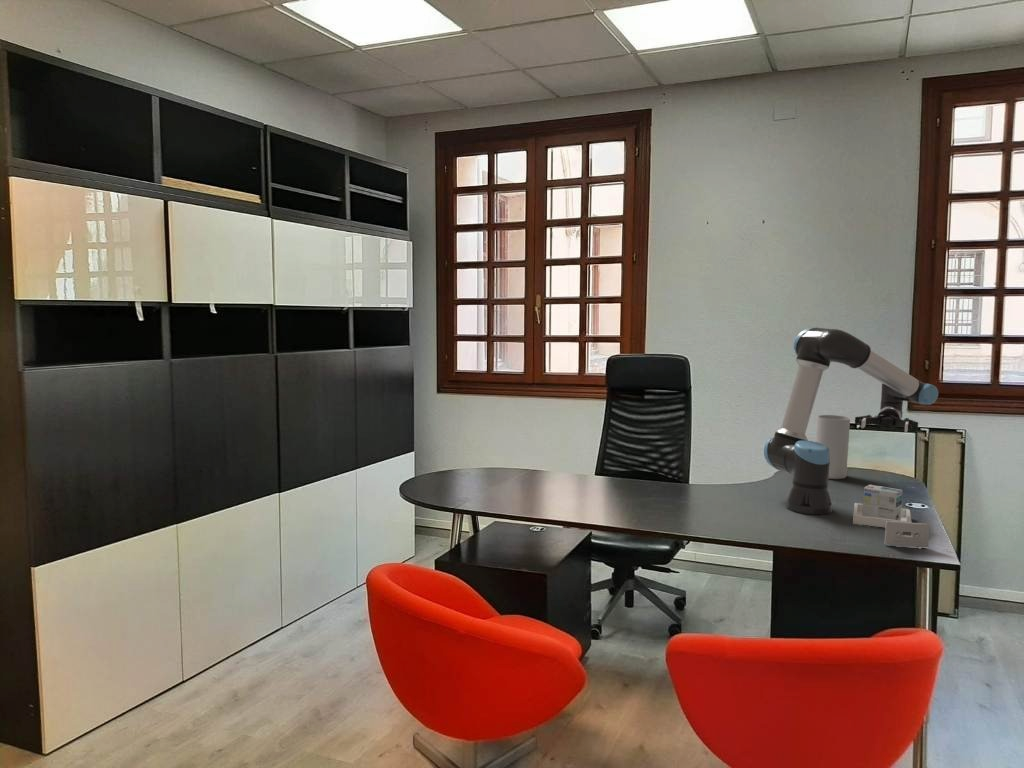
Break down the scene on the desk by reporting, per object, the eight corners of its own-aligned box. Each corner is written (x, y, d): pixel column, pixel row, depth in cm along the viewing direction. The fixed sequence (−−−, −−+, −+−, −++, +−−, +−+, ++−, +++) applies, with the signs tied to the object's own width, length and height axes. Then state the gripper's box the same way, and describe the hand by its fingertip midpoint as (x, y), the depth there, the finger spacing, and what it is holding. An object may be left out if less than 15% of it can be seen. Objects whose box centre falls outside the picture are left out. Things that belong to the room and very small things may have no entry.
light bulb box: (901, 520, 248) (903, 489, 247) (895, 525, 243) (897, 493, 242) (867, 514, 255) (869, 483, 254) (860, 518, 250) (863, 487, 249)
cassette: (926, 548, 223) (928, 523, 222) (928, 550, 221) (930, 525, 220) (883, 544, 225) (885, 520, 225) (885, 546, 224) (886, 522, 223)
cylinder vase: (820, 471, 321) (824, 414, 318) (850, 476, 312) (854, 417, 309) (809, 475, 312) (812, 417, 309) (839, 481, 303) (843, 420, 300)
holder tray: (911, 531, 238) (911, 522, 238) (852, 524, 245) (853, 515, 245) (908, 517, 253) (909, 509, 253) (854, 511, 260) (854, 502, 260)
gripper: (926, 431, 271) (923, 440, 253) (851, 424, 284) (844, 433, 266) (927, 411, 270) (925, 418, 252) (853, 405, 283) (845, 412, 265)
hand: (884, 426), depth 259 cm, fingers open, 13 cm apart
